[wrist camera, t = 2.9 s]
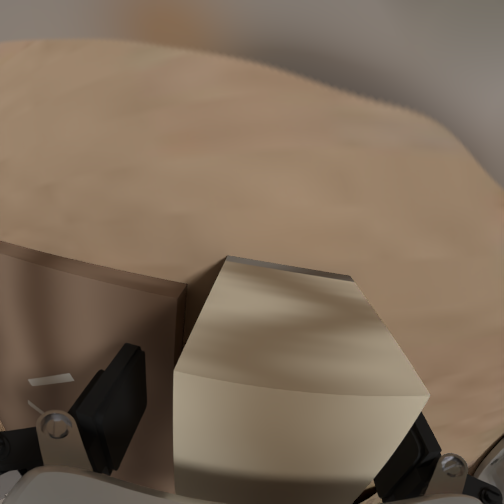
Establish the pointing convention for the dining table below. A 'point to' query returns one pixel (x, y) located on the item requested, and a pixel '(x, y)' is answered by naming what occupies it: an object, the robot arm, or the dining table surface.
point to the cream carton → (288, 390)
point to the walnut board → (88, 346)
